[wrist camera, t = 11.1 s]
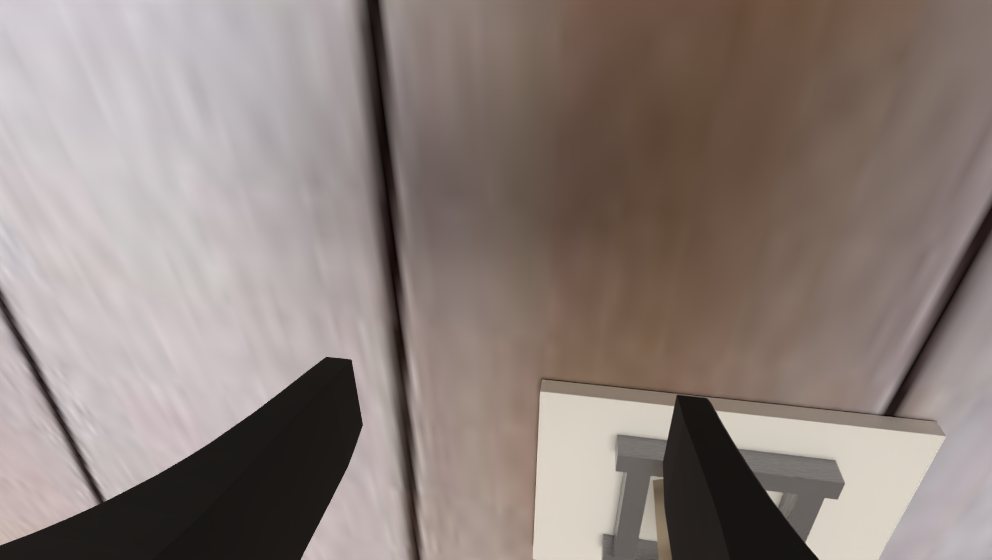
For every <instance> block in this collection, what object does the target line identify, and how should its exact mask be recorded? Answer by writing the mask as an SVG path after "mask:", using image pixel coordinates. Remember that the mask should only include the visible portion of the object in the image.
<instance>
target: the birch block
mask: <svg viewBox="0 0 992 560" xmlns="http://www.w3.org/2000/svg"><path fill="white" fill-rule="evenodd" d="M653 490H654V503H655V517H656V530H657V543H658V557H659V560H672V556H671V549H670V543H669V536H668V529H667V523H666V516H665V509H664V487H663V479H658V480H653Z"/></svg>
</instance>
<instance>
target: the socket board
mask: <svg viewBox="0 0 992 560" xmlns="http://www.w3.org/2000/svg"><path fill="white" fill-rule="evenodd" d="M677 395H683V394H674V393H665V392H655V391H646V390H637V389H627V388H618V387H609V386H599V385H590V384H581V383H571V382H562V381H553V380H544V379H542V383H541V389H540V407H539V430H538V452H537V475H536V498H535V521H534V543H533V559H535V560H659V557H658V543H657V530H656V517H655V503H654V490H653V480H658V479H663V459H664V454H665V449H666V444H667V439H668V434H669V430H670V425H671V420H672V415H673V410H674V405H675V401H676V396H677ZM685 396H693V395H685ZM694 397H702V396H694ZM704 398H708V400H709V401H710V402H711V403H712V405H713V407H714V409H715V411H716V412H717V414H718V416H719V418H720V420H721V421H722V423H723V425H724V427H725V428H726V430H727V432H728V433H729V435H730V437H731V438H732V440H733V442H734V443H735V445H736V447H737V448H738V450H739V451H740V453H741V455H742V456H743V458H744V459H745V461H746V462H747V464H748V465H749V467H750V468H751V470H752V471H753V473H754V474H755V476H756V477H757V479H758V480H759V482H760V483H761V485H762V486H763V488H764V489H765V491H766V492H767V493H768V495H769V496H770V498H771V499H772V500H773V502H774V503H775V505H776V506H777V507H778V509H779V510H780V511H781V512H782V514H783V515H784V516H785V518H786V519H787V520H788V522H789V523H790V524H791V526H792V527H793V528H794V530H795V531H796V532H797V533H798V535H799V536H800V537H801V538H802V540H803V541H804V542H805V543H806V544H807V546H808V547H809V548H810V549H811V550H812V552H813V553H814V554H815V555H816V556H817V557H818V559H819V560H878V558H879V557H880V555H881V553H882V551H883V549H884V548H885V546H886V544H887V542H888V540H889V539H890V537H891V535H892V533H893V531H894V529H895V528H896V526H897V524H898V522H899V520H900V519H901V517H902V515H903V513H904V511H905V510H906V508H907V506H908V504H909V502H910V501H911V499H912V497H913V495H914V493H915V492H916V490H917V488H918V486H919V484H920V483H921V481H922V479H923V477H924V475H925V473H926V472H927V470H928V468H929V466H930V464H931V463H932V461H933V459H934V457H935V455H936V454H937V452H938V450H939V448H940V446H941V445H942V443H943V441H944V439H945V437H946V435H945V434H944V432H943V431H942V429H941V428H940V426H939V425H938V423H937V422H935V421H925V420H916V419H907V418H897V417H888V416H879V415H869V414H860V413H851V412H842V411H832V410H823V409H814V408H804V407H795V406H786V405H776V404H767V403H758V402H748V401H739V400H730V399H720V398H711V397H704Z"/></svg>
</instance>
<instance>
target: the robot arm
mask: <svg viewBox="0 0 992 560" xmlns="http://www.w3.org/2000/svg"><path fill="white" fill-rule="evenodd" d="M362 426H363V423H362V418H361V412H360V406H359V400H358V394H357V389H356V383H355V377H354V371H353V365H352V360H350V359H341V358H332V357H326V358H324V359H323V360H322V361H320V362H319V363H318V364H316V365H315V366H314V367H312V368H311V369H310V370H308V371H307V372H306V373H305V374H303V375H302V376H301V377H300V378H298V379H297V380H296V381H294V382H293V383H292V384H291V385H289V386H288V387H287V388H285V389H284V390H283V391H282V392H280V393H279V394H278V395H276V396H275V397H274V398H272V399H271V400H270V401H268V402H267V403H266V404H264V405H263V406H262V407H261V408H259V409H258V410H257V411H255V412H254V413H253V414H251V415H250V416H248V417H247V418H245V419H244V420H243V421H241V422H240V423H238V424H237V425H235V426H234V427H233V428H231V429H230V430H228V431H227V432H225V433H224V434H222V435H221V436H220V437H218V438H217V439H215V440H214V441H212V442H211V443H209V444H208V445H206V446H205V447H203V448H202V449H200V450H198V451H197V452H195V453H194V454H192V455H190V456H189V457H187V458H185V459H184V460H182V461H180V462H179V463H177V464H175V465H173V466H172V467H170V468H168V469H167V470H165V471H163V472H161V473H160V474H158V475H156V476H154V477H152V478H150V479H148V480H146V481H144V482H142V483H141V484H139V485H137V486H135V487H133V488H131V489H129V490H127V491H125V492H123V493H121V494H119V495H117V496H115V497H113V498H112V499H110V500H107V501H105V502H103V503H101V504H99V505H97V506H95V507H92V508H90V509H88V510H86V511H84V512H82V513H79V514H77V515H75V516H73V517H70V518H68V519H66V520H63V521H61V522H59V523H56V524H54V525H52V526H49V527H47V528H45V529H42V530H40V531H37V532H35V533H32V534H30V535H27V536H24V537H22V538H19V539H16V540H14V541H11V542H8V543H6V544H3V545H1V546H0V560H301V558H302V556H303V553H304V551H305V550H306V548H307V546H308V544H309V542H310V540H311V538H312V536H313V534H314V532H315V530H316V528H317V526H318V524H319V522H320V520H321V518H322V517H323V515H324V513H325V511H326V509H327V507H328V505H329V503H330V501H331V499H332V497H333V495H334V493H335V491H336V489H337V487H338V485H339V483H340V481H341V479H342V477H343V475H344V473H345V471H346V469H347V467H348V465H349V462H350V460H351V457H352V454H353V452H354V449H355V446H356V443H357V440H358V438H359V435H360V432H361V429H362ZM663 487H664V509H665V516H666V523H667V529H668V536H669V543H670V549H671V556H672V560H819V559H818V557H817V556H816V555H815V554H814V553H813V552H812V550H811V549H810V548H809V547H808V546H807V544H806V543H805V542H804V541H803V540H802V538H801V537H800V536H799V535H798V533H797V532H796V531H795V530H794V528H793V527H792V526H791V524H790V523H789V522H788V520H787V519H786V518H785V516H784V515H783V514H782V512H781V511H780V510H779V509H778V507H777V506H776V505H775V503H774V502H773V500H772V499H771V498H770V496H769V495H768V493H767V492H766V491H765V489H764V488H763V486H762V485H761V483H760V482H759V480H758V479H757V477H756V476H755V474H754V473H753V471H752V470H751V468H750V467H749V465H748V464H747V462H746V461H745V459H744V458H743V456H742V455H741V453H740V451H739V450H738V448H737V447H736V445H735V443H734V442H733V440H732V438H731V437H730V435H729V433H728V432H727V430H726V428H725V427H724V425H723V423H722V421H721V420H720V418H719V416H718V414H717V412H716V411H715V409H714V407H713V405H712V403H711V402H710V401H709V400H708V398H704V397H694V396H685V395H677V396H676V401H675V405H674V410H673V415H672V420H671V425H670V430H669V434H668V439H667V444H666V449H665V454H664V459H663Z"/></svg>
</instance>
